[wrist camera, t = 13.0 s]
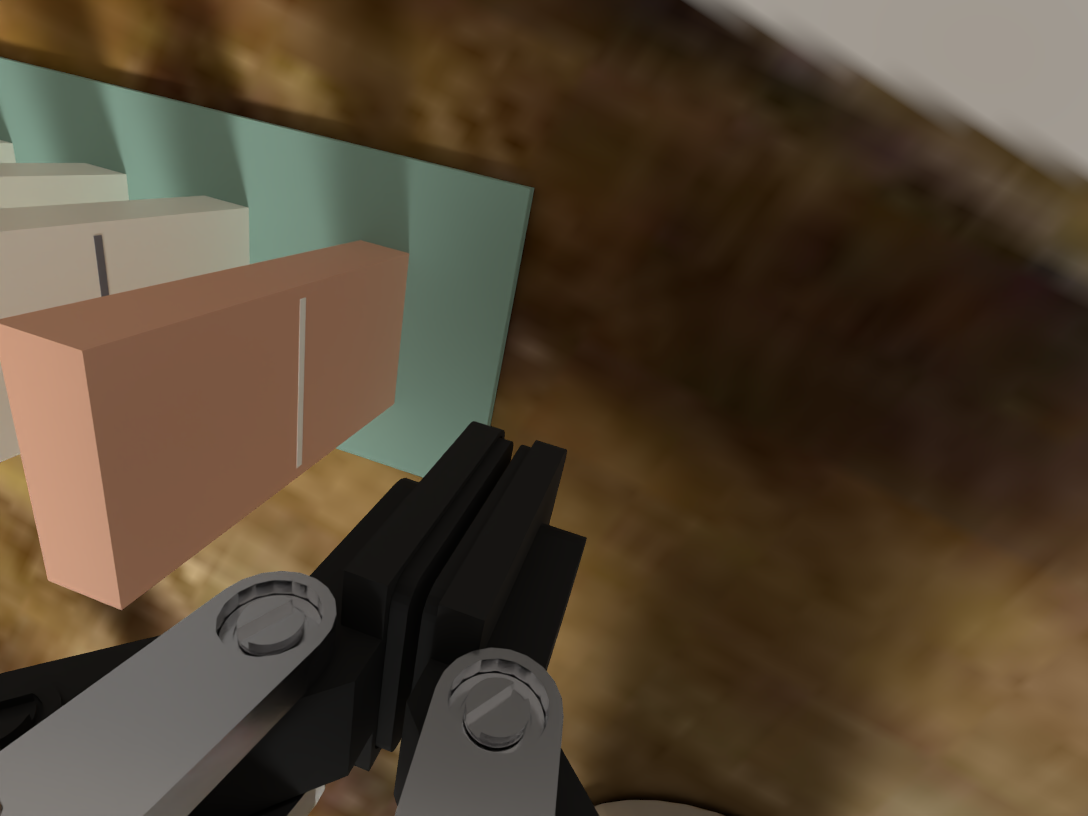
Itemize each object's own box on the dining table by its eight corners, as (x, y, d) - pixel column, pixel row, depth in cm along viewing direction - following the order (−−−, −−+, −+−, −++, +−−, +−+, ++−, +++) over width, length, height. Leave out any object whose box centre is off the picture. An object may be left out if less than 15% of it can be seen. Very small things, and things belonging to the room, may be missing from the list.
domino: (249, 207, 18) (-208, 251, 9) (251, 356, 20) (-116, 511, 11) (204, 195, 18) (-284, 226, 9) (211, 344, 20) (-180, 485, 11)
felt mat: (534, 188, 16) (530, 188, 16) (478, 488, 20) (474, 494, 20) (-208, 5, 20) (-225, 2, 20) (-124, 288, 24) (-137, 290, 24)
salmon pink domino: (409, 253, 17) (83, 351, 8) (394, 403, 19) (122, 610, 10) (360, 239, 17) (-10, 320, 8) (350, 390, 20) (47, 580, 11)
